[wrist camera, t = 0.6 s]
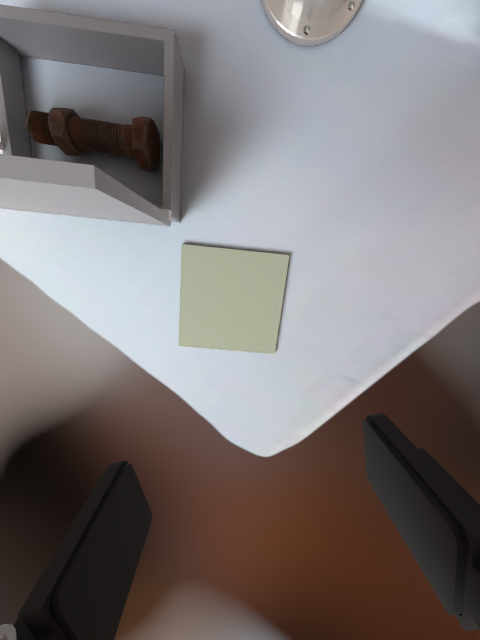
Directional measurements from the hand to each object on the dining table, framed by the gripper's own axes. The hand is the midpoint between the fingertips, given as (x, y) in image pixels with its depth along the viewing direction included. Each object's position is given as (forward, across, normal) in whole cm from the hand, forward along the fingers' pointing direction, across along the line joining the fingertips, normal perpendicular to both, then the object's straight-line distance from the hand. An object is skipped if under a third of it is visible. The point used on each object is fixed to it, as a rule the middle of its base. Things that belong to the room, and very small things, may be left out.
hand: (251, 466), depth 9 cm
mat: (+29, +1, -1) cm, 29 cm away
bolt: (+29, +13, -26) cm, 41 cm away
